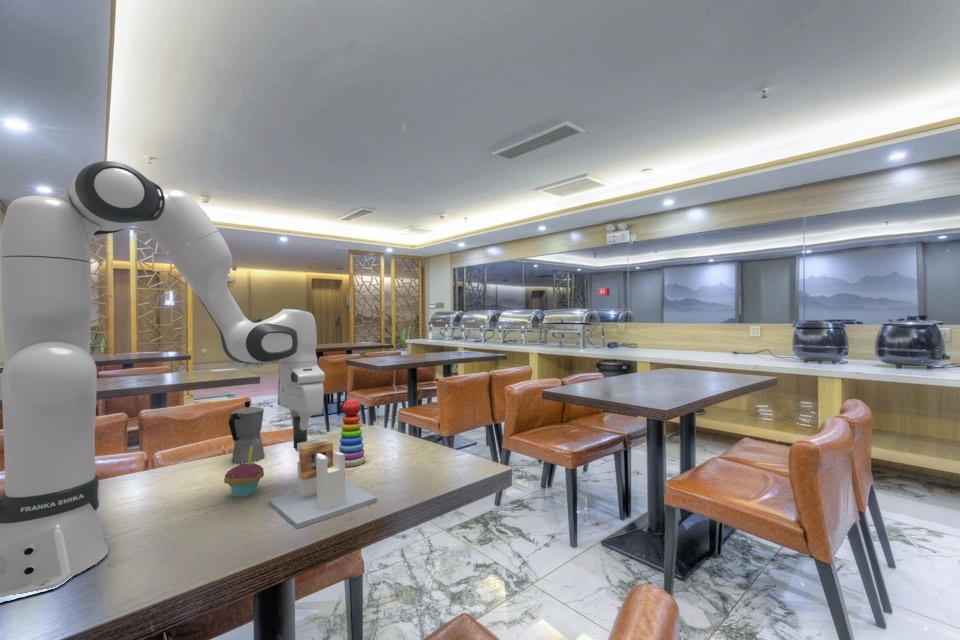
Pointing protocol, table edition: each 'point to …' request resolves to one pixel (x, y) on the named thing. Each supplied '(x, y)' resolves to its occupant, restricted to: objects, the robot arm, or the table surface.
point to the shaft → (302, 437)
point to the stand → (321, 493)
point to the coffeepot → (246, 433)
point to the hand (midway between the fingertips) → (300, 428)
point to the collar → (305, 458)
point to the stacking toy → (352, 435)
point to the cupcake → (244, 477)
